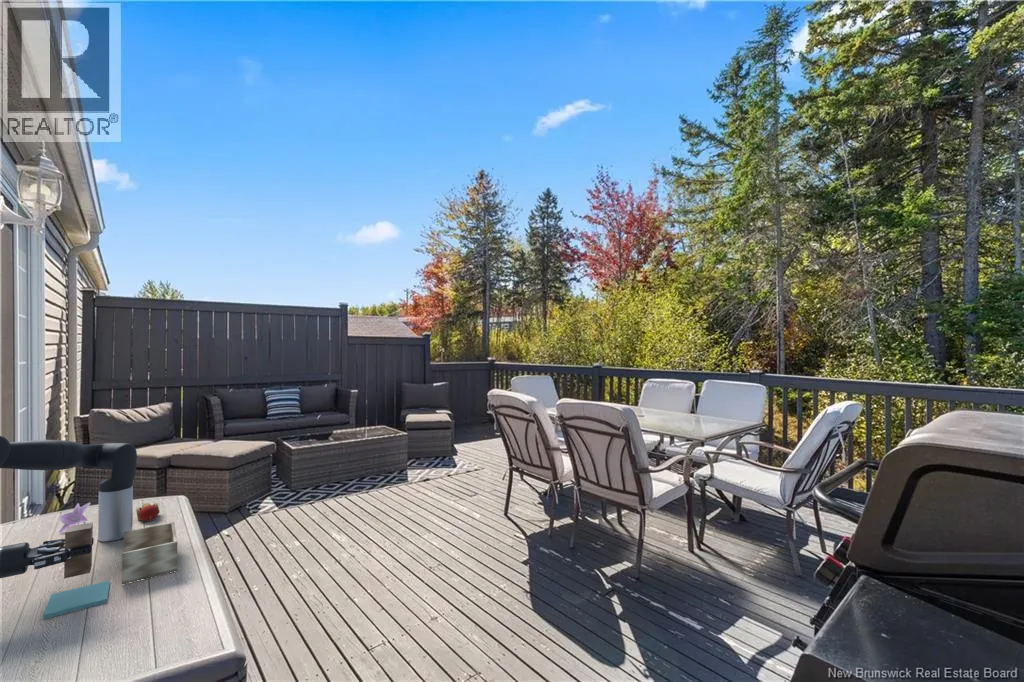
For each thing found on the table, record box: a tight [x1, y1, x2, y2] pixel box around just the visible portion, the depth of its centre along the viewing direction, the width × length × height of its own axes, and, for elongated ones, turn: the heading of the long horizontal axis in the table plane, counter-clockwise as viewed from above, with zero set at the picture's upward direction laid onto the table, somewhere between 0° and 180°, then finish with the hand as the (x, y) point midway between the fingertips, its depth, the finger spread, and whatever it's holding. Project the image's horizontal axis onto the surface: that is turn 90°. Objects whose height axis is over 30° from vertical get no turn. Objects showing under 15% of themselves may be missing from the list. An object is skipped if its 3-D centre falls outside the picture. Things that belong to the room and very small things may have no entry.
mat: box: [43, 580, 111, 620], centre depth 123 cm, size 12×12×1 cm
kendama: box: [135, 502, 160, 522], centre depth 182 cm, size 8×6×18 cm
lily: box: [58, 502, 91, 534], centre depth 168 cm, size 12×12×10 cm
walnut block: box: [63, 522, 94, 580], centre depth 123 cm, size 5×5×12 cm
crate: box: [121, 521, 178, 585], centre depth 142 cm, size 13×20×9 cm, turn 39°
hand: (92, 544), depth 124 cm, fingers closed on walnut block, 5 cm apart
